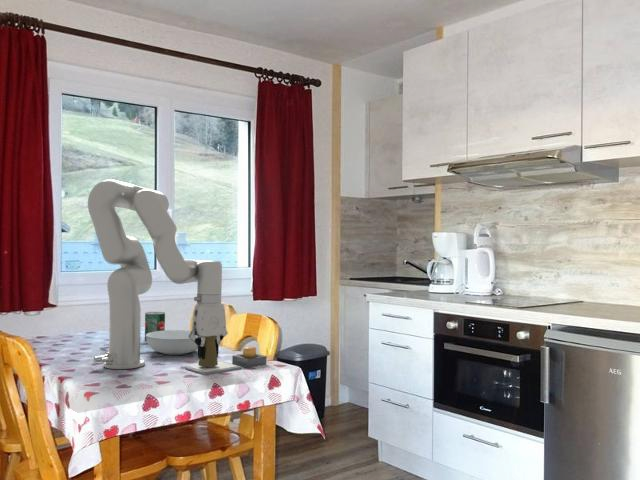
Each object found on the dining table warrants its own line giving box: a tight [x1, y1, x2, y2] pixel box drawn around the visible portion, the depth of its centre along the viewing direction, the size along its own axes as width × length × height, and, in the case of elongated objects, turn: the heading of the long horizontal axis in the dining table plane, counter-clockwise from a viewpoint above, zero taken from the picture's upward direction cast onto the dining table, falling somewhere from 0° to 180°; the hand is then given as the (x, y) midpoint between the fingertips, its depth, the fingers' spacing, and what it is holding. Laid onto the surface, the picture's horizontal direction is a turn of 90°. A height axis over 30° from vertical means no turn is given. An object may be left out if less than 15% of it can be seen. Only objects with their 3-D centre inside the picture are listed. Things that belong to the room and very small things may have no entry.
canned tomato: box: [144, 311, 166, 342], centre depth 240 cm, size 8×8×11 cm
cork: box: [197, 336, 219, 367], centre depth 186 cm, size 6×6×11 cm
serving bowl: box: [146, 329, 198, 356], centre depth 213 cm, size 21×21×7 cm
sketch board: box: [185, 361, 243, 376], centre depth 187 cm, size 14×11×1 cm
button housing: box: [231, 353, 267, 369], centre depth 195 cm, size 8×8×3 cm
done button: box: [242, 346, 257, 358], centre depth 195 cm, size 4×4×3 cm
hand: (208, 357), depth 186 cm, fingers closed on cork, 4 cm apart
